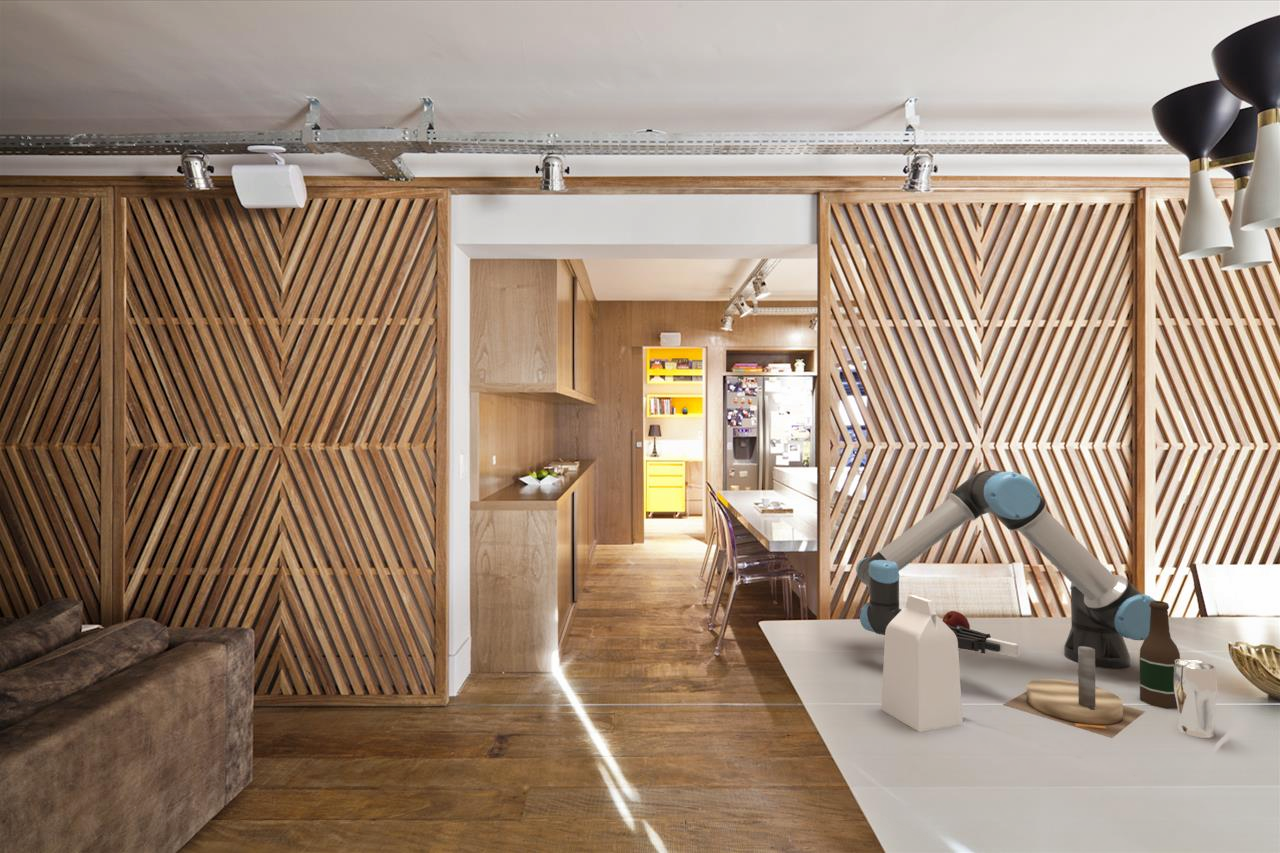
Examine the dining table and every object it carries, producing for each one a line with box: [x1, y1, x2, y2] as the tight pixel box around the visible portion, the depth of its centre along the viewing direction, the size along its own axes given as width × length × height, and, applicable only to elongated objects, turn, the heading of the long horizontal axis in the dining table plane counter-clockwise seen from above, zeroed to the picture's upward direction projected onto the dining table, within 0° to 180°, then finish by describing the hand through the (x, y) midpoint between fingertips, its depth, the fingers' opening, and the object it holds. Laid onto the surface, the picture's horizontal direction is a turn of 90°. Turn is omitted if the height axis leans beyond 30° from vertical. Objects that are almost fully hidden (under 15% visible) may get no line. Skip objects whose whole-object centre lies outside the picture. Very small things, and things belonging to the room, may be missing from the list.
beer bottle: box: [1139, 600, 1181, 710], centre depth 152 cm, size 8×8×24 cm
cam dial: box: [1025, 646, 1124, 724], centre depth 148 cm, size 18×18×15 cm
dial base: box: [1002, 691, 1146, 739], centre depth 148 cm, size 21×21×2 cm
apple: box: [941, 610, 971, 629], centre depth 205 cm, size 7×8×8 cm
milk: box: [880, 594, 964, 732], centre depth 147 cm, size 12×12×26 cm
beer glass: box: [1173, 658, 1218, 739], centre depth 137 cm, size 7×7×15 cm
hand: (1016, 650), depth 152 cm, fingers closed
